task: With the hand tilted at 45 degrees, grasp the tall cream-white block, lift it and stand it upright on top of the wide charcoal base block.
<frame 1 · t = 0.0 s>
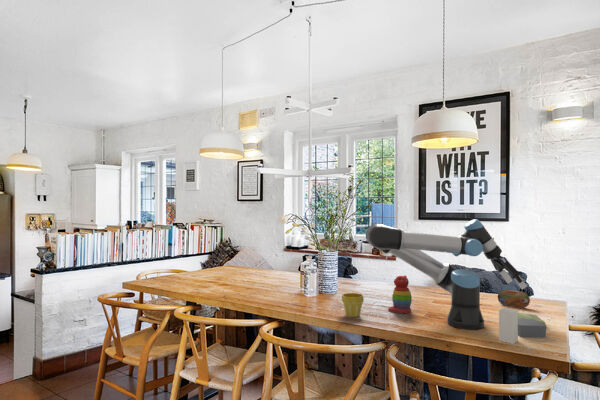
hand: (517, 284, 188), 15 cm above the table, tool tilted 35°, fingers open, 13 cm apart
stacking bear: (401, 311, 199), on the table
brown flat oval: (513, 306, 208), on the table
cream block: (508, 340, 155), on the table
plant pot: (352, 315, 191), on the table
charcoal base block: (526, 334, 164), on the table
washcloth: (525, 323, 181), on the table
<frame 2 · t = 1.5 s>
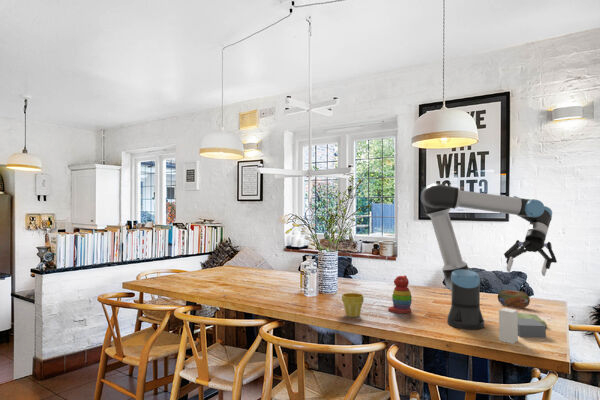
hand: (525, 272, 168), 25 cm above the table, tool tilted 45°, fingers open, 13 cm apart
nothing on the table moved.
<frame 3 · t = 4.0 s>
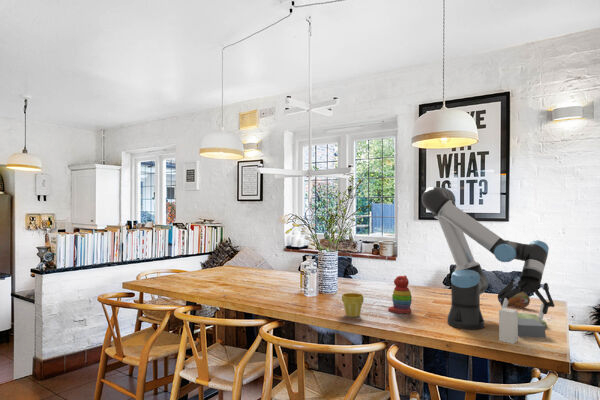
hand: (520, 316, 157), 9 cm above the table, tool tilted 45°, fingers open, 13 cm apart
nothing on the table moved.
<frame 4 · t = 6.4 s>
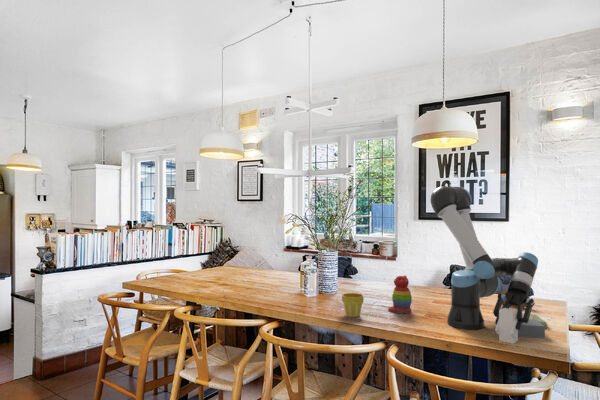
hand: (504, 333, 153), 4 cm above the table, tool tilted 45°, fingers closed on cream block, 5 cm apart
cream block: (508, 340, 155), on the table, touching gripper
everything else where it was.
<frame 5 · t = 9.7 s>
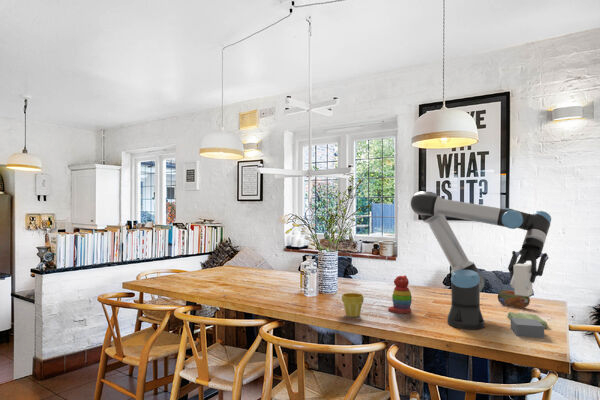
hand: (519, 287, 159), 20 cm above the table, tool tilted 45°, fingers closed on cream block, 5 cm apart
cream block: (523, 294, 161), point 17 cm above the table, touching gripper
everything else where it was.
when the fingers open (10 cm above the table, at t = 12.9 s): cream block drops 2 cm, point 5 cm above the table.
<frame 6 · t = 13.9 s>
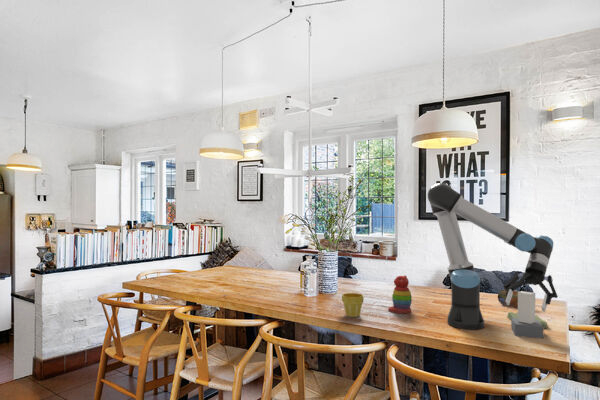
hand: (524, 306, 163), 11 cm above the table, tool tilted 45°, fingers open, 13 cm apart
cream block: (526, 321, 164), point 5 cm above the table
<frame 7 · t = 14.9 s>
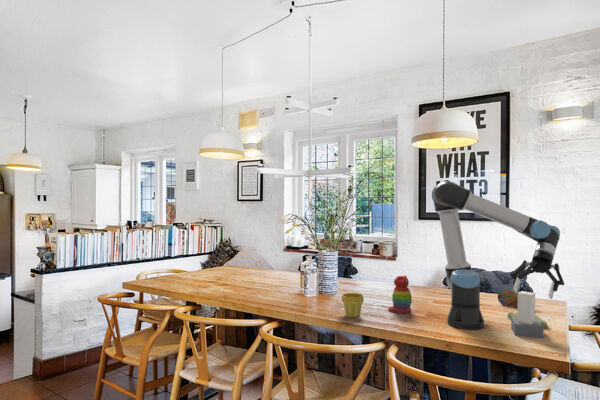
hand: (531, 294, 166), 16 cm above the table, tool tilted 45°, fingers open, 13 cm apart
cream block: (526, 321, 164), point 5 cm above the table, touching charcoal base block
charcoal base block: (526, 334, 164), on the table, touching cream block
everything else where it was.
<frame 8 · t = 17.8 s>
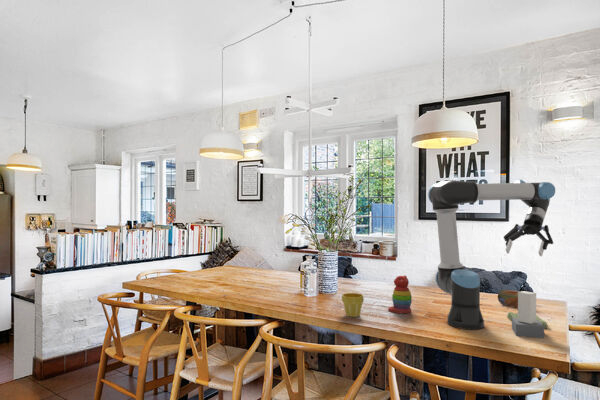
hand: (523, 253, 178), 32 cm above the table, tool tilted 45°, fingers open, 13 cm apart
at the end: cream block 0.1 cm off-centre on the charcoal base block, point 5.0 cm above the charcoal base block's base; cream block tilted 1°; the gripper is holding nothing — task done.
